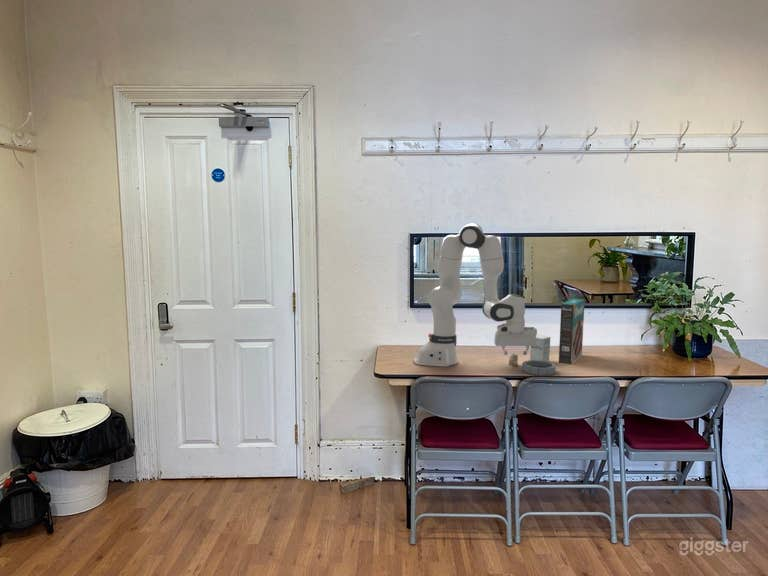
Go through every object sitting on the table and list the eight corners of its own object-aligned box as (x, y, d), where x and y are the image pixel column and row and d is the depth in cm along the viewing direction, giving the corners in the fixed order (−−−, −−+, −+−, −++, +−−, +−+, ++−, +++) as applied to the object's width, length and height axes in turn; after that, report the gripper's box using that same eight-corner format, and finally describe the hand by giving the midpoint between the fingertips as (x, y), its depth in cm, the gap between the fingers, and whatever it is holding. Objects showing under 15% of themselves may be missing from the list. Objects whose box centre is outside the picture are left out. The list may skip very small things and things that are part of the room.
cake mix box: (570, 364, 266) (573, 304, 262) (558, 362, 269) (561, 303, 265) (581, 355, 284) (584, 299, 280) (570, 353, 287) (572, 298, 283)
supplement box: (529, 360, 272) (530, 336, 271) (536, 358, 278) (537, 334, 276) (542, 363, 267) (543, 338, 266) (549, 360, 272) (550, 336, 271)
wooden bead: (509, 365, 262) (510, 355, 262) (508, 363, 266) (508, 353, 266) (518, 366, 262) (518, 355, 261) (516, 363, 266) (517, 353, 266)
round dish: (526, 375, 246) (526, 368, 245) (519, 366, 261) (519, 359, 260) (559, 376, 245) (559, 368, 245) (550, 367, 260) (551, 360, 259)
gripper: (535, 325, 264) (535, 353, 265) (493, 326, 265) (493, 353, 267) (538, 328, 257) (538, 356, 259) (495, 328, 259) (495, 356, 261)
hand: (515, 354), depth 263 cm, fingers open, 8 cm apart
